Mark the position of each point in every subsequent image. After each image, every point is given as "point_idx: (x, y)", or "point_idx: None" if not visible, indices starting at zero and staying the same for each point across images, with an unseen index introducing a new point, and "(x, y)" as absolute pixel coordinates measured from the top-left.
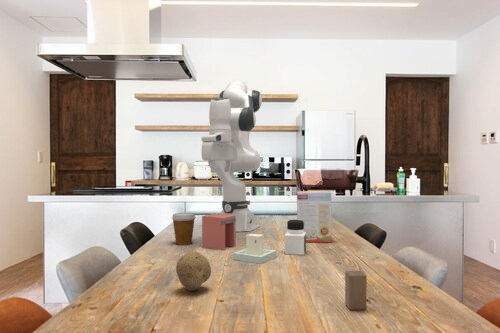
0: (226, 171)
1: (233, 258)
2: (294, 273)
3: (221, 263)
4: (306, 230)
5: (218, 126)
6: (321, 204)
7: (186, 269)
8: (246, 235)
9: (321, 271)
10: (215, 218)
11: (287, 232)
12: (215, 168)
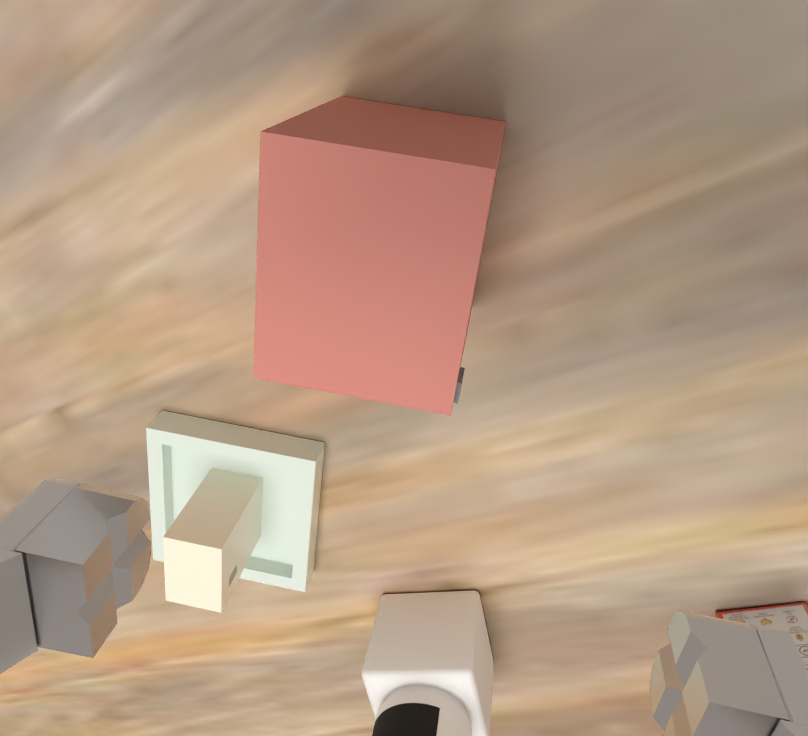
0: (662, 657)
1: (160, 415)
2: (116, 657)
3: (73, 386)
4: None
5: None
6: None
7: None
8: (163, 537)
9: (189, 722)
10: (260, 293)
11: (425, 680)
12: (58, 637)
